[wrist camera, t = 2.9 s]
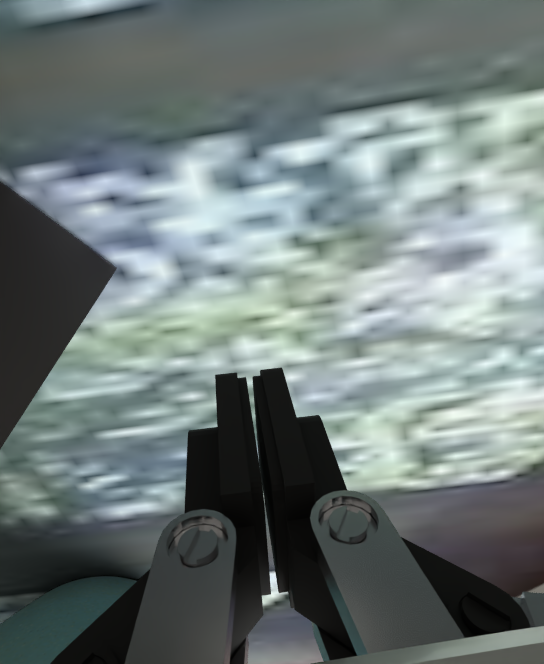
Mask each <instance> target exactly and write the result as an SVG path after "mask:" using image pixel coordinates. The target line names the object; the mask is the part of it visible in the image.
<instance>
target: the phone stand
mask: <svg viewBox="0 0 544 664" xmlns="http://www.w3.org/2000/svg"><path fill="white" fill-rule="evenodd" d="M116 269H117V268H116V267H114V266H113V265H112V264H110V263H109V262H108V261H106V260H105V259H104V258H102V257H101V256H100V255H98V254H97V253H96V252H94V251H93V250H92V249H90V248H89V247H88V246H86V245H85V244H84V243H82V242H81V241H80V240H78V239H77V238H76V237H74V236H73V235H71V234H70V233H69V232H67V231H66V230H65V229H63V228H62V227H61V226H59V225H58V224H57V223H55V222H54V221H53V220H51V219H50V218H49V217H47V216H46V215H45V214H43V213H42V212H41V211H39V210H38V209H37V208H35V207H34V206H33V205H31V204H30V203H29V202H27V201H26V200H24V199H23V198H22V197H20V196H19V195H18V194H16V193H15V192H14V191H12V190H11V189H10V188H8V187H7V186H6V185H4V184H3V183H2V182H0V449H1V447H2V446H3V444H4V442H5V441H6V439H7V438H8V436H9V435H10V433H11V432H12V430H13V428H14V427H15V425H16V424H17V422H18V421H19V419H20V418H21V416H22V415H23V413H24V411H25V410H26V408H27V407H28V405H29V404H30V402H31V401H32V399H33V398H34V396H35V394H36V393H37V391H38V390H39V388H40V387H41V385H42V384H43V382H44V381H45V379H46V377H47V376H48V374H49V373H50V371H51V370H52V368H53V367H54V365H55V363H56V362H57V360H58V359H59V357H60V356H61V354H62V353H63V351H64V350H65V348H66V346H67V345H68V343H69V342H70V340H71V339H72V337H73V336H74V334H75V333H76V331H77V329H78V328H79V326H80V325H81V323H82V322H83V320H84V319H85V317H86V316H87V314H88V312H89V311H90V309H91V308H92V306H93V305H94V303H95V302H96V300H97V298H98V297H99V295H100V294H101V292H102V291H103V289H104V288H105V286H106V285H107V283H108V281H109V280H110V278H111V277H112V275H113V274H114V272H115V271H116Z"/></svg>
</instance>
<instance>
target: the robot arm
mask: <svg viewBox="0 0 544 664" xmlns="http://www.w3.org/2000/svg"><path fill="white" fill-rule="evenodd" d="M215 379H216V402H217V425H218V427H215V428H206V429H198V430H189V432H188V447H187V470H186V492H185V514H182V515H180V516H179V517H177V518H176V519H174V520H173V521H171V522H170V523H169V524H168V526H167V527H166V528H165V529H164V530H163V532H162V534H161V536H160V538H159V540H158V544H157V547H156V551H155V555H154V558H153V562H152V566H151V569H150V570H149V571H148V572H146V573H145V574H144V575H143V576H142V577H141V578H140V579H139V580H138V581H137V582H136V583H135V584H134V585H133V586H131V587H130V588H129V589H128V590H127V591H126V592H125V593H124V594H123V595H122V596H121V597H120V598H119V599H118V600H116V601H115V602H114V603H113V604H112V605H111V606H110V607H109V608H108V609H107V610H106V611H105V612H104V613H102V614H101V615H100V616H99V617H98V618H97V619H96V620H95V621H94V622H93V623H92V624H91V625H90V626H89V627H87V628H86V629H85V630H84V631H83V632H82V633H81V634H80V635H79V636H78V637H77V638H76V639H75V640H73V641H72V642H71V643H70V644H69V645H68V646H67V647H66V648H65V649H64V650H63V651H62V652H61V653H60V654H58V655H57V656H56V658H55V659H54V660H53V661H52V662H51V663H50V664H248V648H249V642H248V634H249V632H250V631H251V630H252V629H253V627H254V626H255V625H256V623H257V622H258V621H259V620H260V618H261V617H262V616H263V607H262V595H269V594H271V589H270V575H269V562H268V549H267V536H266V523H265V510H264V499H265V506H266V512H267V519H268V526H269V532H270V539H271V545H272V552H273V559H274V565H275V572H276V578H277V585H278V591H279V593H282V592H288V593H289V599H290V605H291V608H295V610H296V611H297V612H299V613H300V614H302V615H303V616H304V617H306V618H307V619H309V620H310V621H312V627H313V632H314V636H315V639H316V641H317V644H318V647H319V650H320V652H321V655H322V658H323V661H324V662H318V663H312V664H544V593H543V594H542V593H531V592H523V593H522V596H521V598H515V597H511V596H510V595H509V594H507V593H506V592H504V591H503V590H501V589H500V588H498V587H497V586H495V585H493V584H491V583H489V582H487V581H485V580H483V579H481V578H479V577H477V576H475V575H474V574H472V573H470V572H468V571H466V570H464V569H462V568H460V567H458V566H456V565H454V564H452V563H450V562H448V561H446V560H444V559H442V558H441V557H439V556H437V555H435V554H433V553H431V552H429V551H427V550H425V549H423V548H421V547H419V546H417V545H415V544H413V543H411V542H409V541H408V540H406V539H404V538H402V537H400V535H399V534H398V532H397V530H396V529H395V527H394V526H393V524H392V523H391V521H390V520H389V518H388V516H387V515H386V513H385V512H384V510H383V509H382V508H381V506H380V505H379V504H378V503H377V502H376V501H375V500H373V499H372V498H370V497H369V496H367V495H365V494H362V493H359V492H356V491H348V490H347V488H346V486H345V483H344V480H343V477H342V475H341V472H340V469H339V466H338V464H337V461H336V458H335V455H334V453H333V450H332V447H331V444H330V442H329V439H328V436H327V433H326V431H325V428H324V425H323V422H322V420H321V418H320V416H319V415H315V416H307V417H298V418H296V414H295V411H294V407H293V404H292V400H291V397H290V393H289V390H288V387H287V383H286V380H285V376H284V373H283V369H282V368H274V369H265V370H260V376H253V390H254V403H255V415H256V428H257V441H258V453H257V447H256V440H255V434H254V427H253V420H252V414H251V407H250V401H249V394H248V388H247V381H246V377H244V378H237V373H228V374H219V375H215ZM258 454H259V460H258ZM259 465H260V467H259ZM262 486H263V488H262ZM263 493H264V497H263Z"/></svg>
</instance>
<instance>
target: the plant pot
mask: <svg viewBox="0 0 544 664" xmlns="http://www.w3.org/2000/svg"><path fill="white" fill-rule="evenodd" d="M136 582H137V581H135V580H132V579H127V578H121V577H111V576H100V577H89V578H83V579H79V580H75V581H72V582H69V583H66V584H64V585H61V586H59V587H57V588H55V589H53V590H51V591H49V592H47V593H46V594H44V595H42V596H41V597H39V598H38V599H36V600H35V601H33V602H32V603H30V604H29V605H27V606H26V607H24V608H23V609H21V610H20V611H18V612H17V613H15V614H14V615H13V616H11V617H10V618H9V619H7V620H6V621H4V622H3V623H2V624H0V664H50V663H51V662H52V661H53V660H54V659H55V658H56V656H57V655H58V654H60V653H61V652H62V651H63V650H64V649H65V648H66V647H67V646H68V645H69V644H70V643H71V642H72V641H73V640H75V639H76V638H77V637H78V636H79V635H80V634H81V633H82V632H83V631H84V630H85V629H86V628H87V627H89V626H90V625H91V624H92V623H93V622H94V621H95V620H96V619H97V618H98V617H99V616H100V615H101V614H102V613H104V612H105V611H106V610H107V609H108V608H109V607H110V606H111V605H112V604H113V603H114V602H115V601H116V600H118V599H119V598H120V597H121V596H122V595H123V594H124V593H125V592H126V591H127V590H128V589H129V588H130V587H131V586H133V585H134V584H135V583H136Z"/></svg>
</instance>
